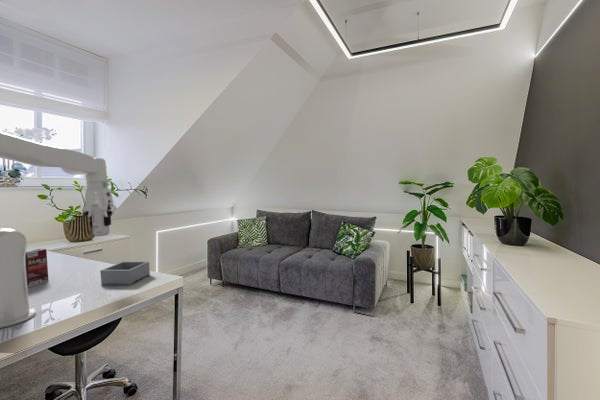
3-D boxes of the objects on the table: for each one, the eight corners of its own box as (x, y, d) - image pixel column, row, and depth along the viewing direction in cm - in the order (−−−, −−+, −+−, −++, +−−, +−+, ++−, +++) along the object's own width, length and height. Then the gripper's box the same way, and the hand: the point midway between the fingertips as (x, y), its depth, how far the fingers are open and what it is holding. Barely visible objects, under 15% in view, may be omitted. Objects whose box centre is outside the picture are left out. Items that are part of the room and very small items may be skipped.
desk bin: (130, 285, 125) (129, 270, 124) (101, 285, 126) (100, 270, 126) (149, 275, 139) (148, 261, 138) (123, 275, 140) (122, 261, 140)
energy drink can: (91, 235, 125) (88, 202, 124) (107, 233, 130) (104, 201, 129) (95, 237, 122) (92, 203, 120) (111, 234, 126) (108, 202, 125)
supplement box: (29, 287, 125) (26, 253, 124) (20, 287, 126) (17, 252, 125) (49, 281, 134) (47, 248, 133) (41, 280, 135) (39, 248, 134)
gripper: (121, 185, 127) (124, 223, 129) (86, 186, 128) (89, 224, 130) (109, 185, 120) (112, 226, 121) (71, 186, 121) (75, 227, 122)
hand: (100, 225), depth 125 cm, fingers closed on energy drink can, 6 cm apart
